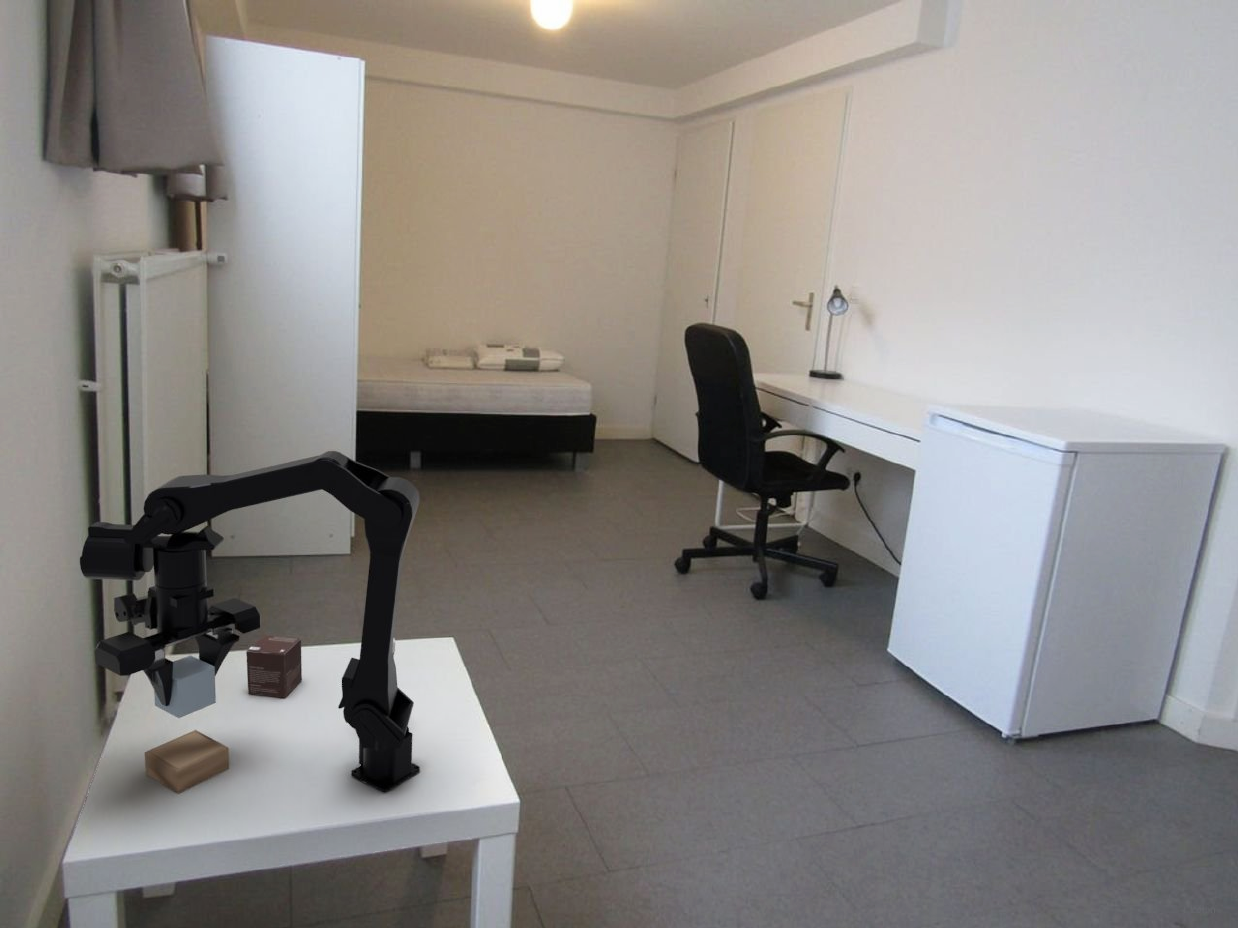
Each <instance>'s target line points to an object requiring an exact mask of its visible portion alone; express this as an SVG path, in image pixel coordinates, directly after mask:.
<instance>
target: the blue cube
mask: <svg viewBox="0 0 1238 928" xmlns="http://www.w3.org/2000/svg"><path fill="white" fill-rule="evenodd" d="M172 662H173V675H172V691H171V699H170V704H169V706H164V705H162V704H161V702H160V700H159V698H158V696H157V694H156V692H155V690H154V689H153V690H154V691H153V693H154V706H155V707H157V708H159V709H160V710H162V711H164V712H165V713H168V714H170V715H172V716H174V717H175V718H178V719H181V718H183V717H186V716H188V715H190V714H193V713H194V712H198V711H200V710H203V709H204V708H207V707H209V706H212V705H213V704H216V703H217V700H216V699H217V698H216V697H217V695H216V676H215V667H214V666H212V665H210V664H208V663H206V662H203V661H201V660H199V658H197V657H194V656H193V655H187V656H185V657H183V658H179V659H177V660H174V661H172Z"/></svg>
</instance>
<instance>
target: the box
mask: <svg viewBox="0 0 1238 928" xmlns="http://www.w3.org/2000/svg"><path fill="white" fill-rule="evenodd" d="M245 653H246V654H245V655H246V671H247V672H246V673H247V677H246V678H247V692H248V695H256V696H257V695H258V696H267V697H268V696H269V697H277V698H287V697H288V696H289V694H291V692H293V690H294V689H295V688H296V687H297V686H298V685H299V684H300V683H301V682H302V680H303V678H302V677H303V676H302V670H303V669H302V638H300V637H299V638H298V637H290V636H280V635H279V636H278V635H271V634H265V635H263V636H262V637H261V638H259V640H257V641H256V642H255V643H254V644H253V645H251V646H250V647H249V648H248V649H247V650H246V651H245Z"/></svg>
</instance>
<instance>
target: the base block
mask: <svg viewBox="0 0 1238 928" xmlns="http://www.w3.org/2000/svg"><path fill="white" fill-rule="evenodd" d="M229 751H230V750H229V747H228V746H226V745H225V744H223V743H220V742H219V741H217V740H215V739H213V738H211V737H210V736H207V735H206V734H204V733H202V732H200V731H198V730H197V729H193V730H192V731H190V732H188V733H185V734H183V735H181V736H179V737H175V738H173V739H171V740H169V741H167V742H165V743H163V744H160V745H158V746H156V747H153V748H151V749H148V750H146V751H145V752H144V766H145V767H144V768H145V770H144V771H145V774H146V775H148V776H149V777H151V778H153V779H154V780H155V781H158V782H159V783H161V784H162V785H164V786H166V787H167V788H168V789H170V790H172V791H173V792H176V793H177V794H180V793H182V792H185V791H186V790H188V789H190V788H193V787H194V786H196V785H199V784H201V783H202V782H205V781H206V780H209V779H211V778H212V777H215V776H216V775H218V774H221V773H223V772H226V770H227V771H228V770H229V769H230V753H229Z"/></svg>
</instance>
